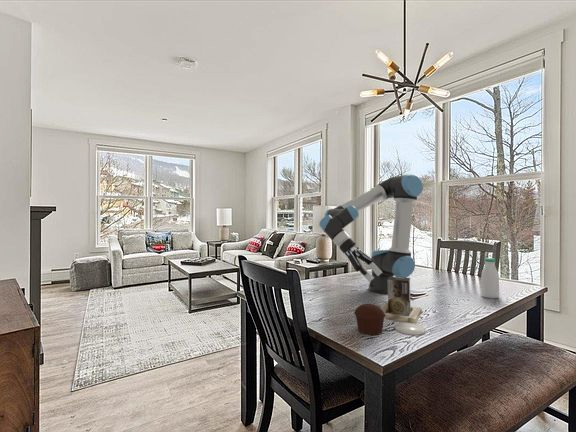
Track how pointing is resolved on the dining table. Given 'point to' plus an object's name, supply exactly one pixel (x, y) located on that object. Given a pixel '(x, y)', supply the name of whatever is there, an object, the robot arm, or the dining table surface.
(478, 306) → the dining table surface
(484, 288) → the milk bottle
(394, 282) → the coffee box
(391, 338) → the dining table surface
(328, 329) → the dining table surface
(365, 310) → the muffin
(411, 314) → the holder board
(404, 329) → the coaster
